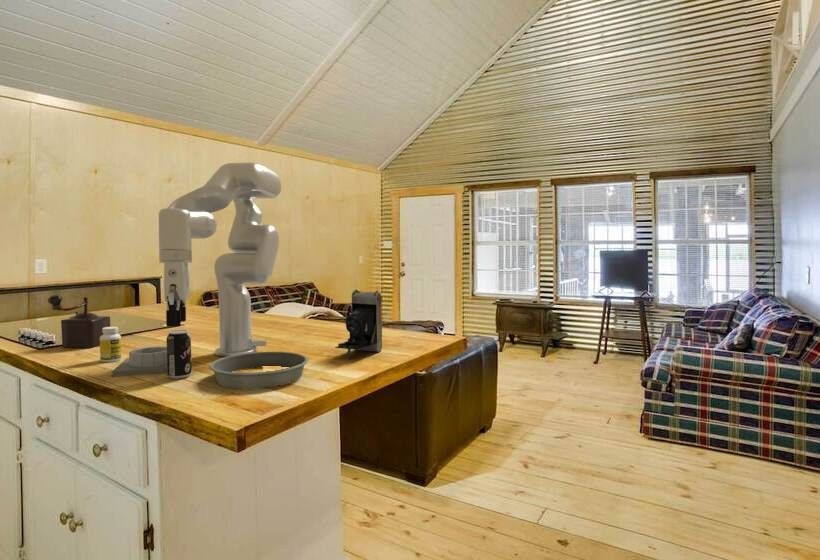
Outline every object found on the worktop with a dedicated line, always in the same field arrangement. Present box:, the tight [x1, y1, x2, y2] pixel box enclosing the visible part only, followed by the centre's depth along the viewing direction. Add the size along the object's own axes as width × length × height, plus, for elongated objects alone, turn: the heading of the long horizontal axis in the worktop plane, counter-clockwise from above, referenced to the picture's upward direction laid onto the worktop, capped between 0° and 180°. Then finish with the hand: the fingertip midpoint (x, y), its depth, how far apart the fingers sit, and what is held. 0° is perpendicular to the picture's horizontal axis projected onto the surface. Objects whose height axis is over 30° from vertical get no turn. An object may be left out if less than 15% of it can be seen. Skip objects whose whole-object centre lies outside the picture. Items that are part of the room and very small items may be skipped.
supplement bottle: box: [99, 326, 123, 363], centre depth 147 cm, size 5×5×10 cm
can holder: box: [111, 345, 168, 377], centre depth 140 cm, size 16×16×5 cm
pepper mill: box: [47, 294, 111, 349], centre depth 166 cm, size 16×11×18 cm
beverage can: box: [165, 329, 193, 380], centre depth 129 cm, size 6×6×12 cm
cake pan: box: [208, 351, 309, 389], centre depth 130 cm, size 25×25×4 cm
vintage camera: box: [334, 289, 383, 360], centre depth 155 cm, size 10×16×20 cm, turn 158°
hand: (176, 323), depth 128 cm, fingers open, 9 cm apart
